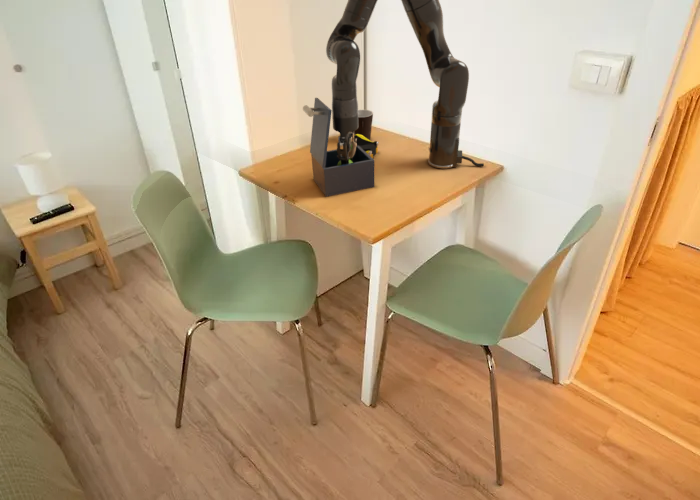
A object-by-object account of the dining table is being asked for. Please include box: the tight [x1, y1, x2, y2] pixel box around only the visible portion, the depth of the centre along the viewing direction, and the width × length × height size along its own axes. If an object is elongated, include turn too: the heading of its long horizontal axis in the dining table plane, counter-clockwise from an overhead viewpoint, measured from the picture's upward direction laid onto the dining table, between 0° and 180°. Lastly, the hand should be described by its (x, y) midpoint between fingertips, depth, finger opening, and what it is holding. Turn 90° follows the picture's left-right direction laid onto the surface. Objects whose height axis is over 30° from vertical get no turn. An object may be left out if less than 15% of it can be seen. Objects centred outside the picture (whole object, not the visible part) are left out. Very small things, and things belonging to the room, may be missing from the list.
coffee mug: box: [354, 109, 374, 141], centre depth 172 cm, size 12×9×10 cm
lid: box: [302, 97, 332, 168], centre depth 133 cm, size 17×13×5 cm
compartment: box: [310, 145, 375, 198], centre depth 143 cm, size 16×13×9 cm
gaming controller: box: [354, 134, 379, 159], centre depth 162 cm, size 15×6×10 cm
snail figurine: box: [336, 139, 357, 166], centre depth 141 cm, size 5×6×12 cm
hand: (347, 166), depth 143 cm, fingers closed on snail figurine, 5 cm apart
